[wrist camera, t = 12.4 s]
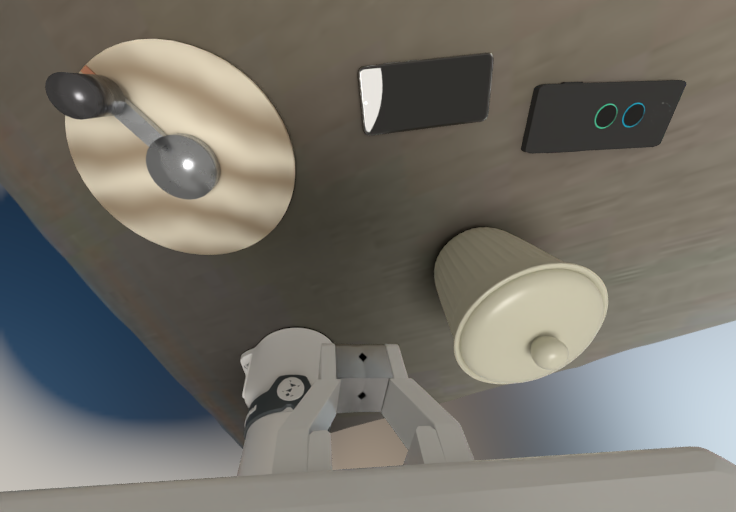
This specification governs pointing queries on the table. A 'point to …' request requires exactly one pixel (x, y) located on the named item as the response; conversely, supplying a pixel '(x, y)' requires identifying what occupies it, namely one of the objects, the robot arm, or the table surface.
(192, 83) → the base
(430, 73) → the smartphone
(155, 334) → the table surface
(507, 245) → the canister
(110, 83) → the crank handle
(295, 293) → the table surface
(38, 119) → the table surface
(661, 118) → the smart home device
